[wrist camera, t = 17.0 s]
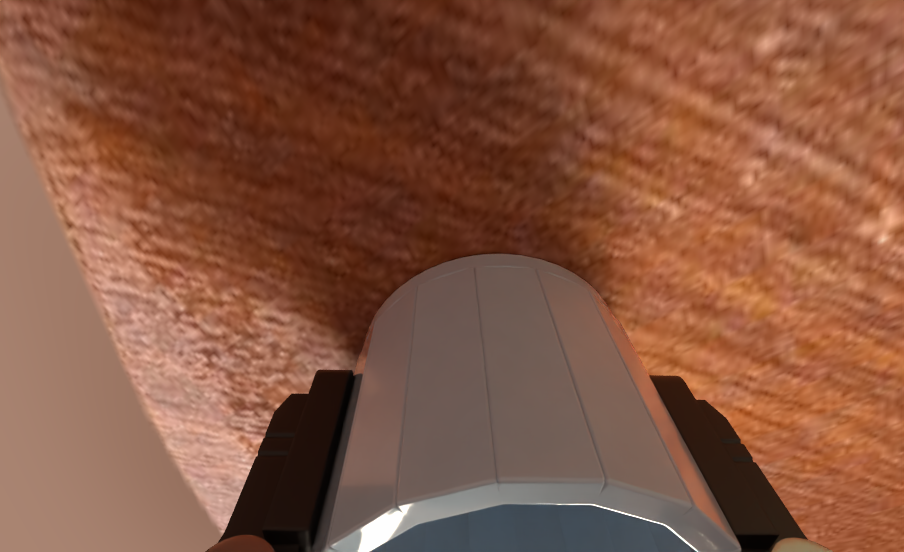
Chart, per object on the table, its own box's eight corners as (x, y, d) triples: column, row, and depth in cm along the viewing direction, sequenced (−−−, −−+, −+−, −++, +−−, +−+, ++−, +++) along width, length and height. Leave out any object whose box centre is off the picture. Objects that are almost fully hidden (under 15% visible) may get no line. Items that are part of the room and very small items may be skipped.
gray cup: (370, 447, 13) (329, 697, 8) (353, 249, 10) (267, 477, 5) (592, 449, 13) (673, 696, 9) (648, 255, 10) (828, 483, 5)
